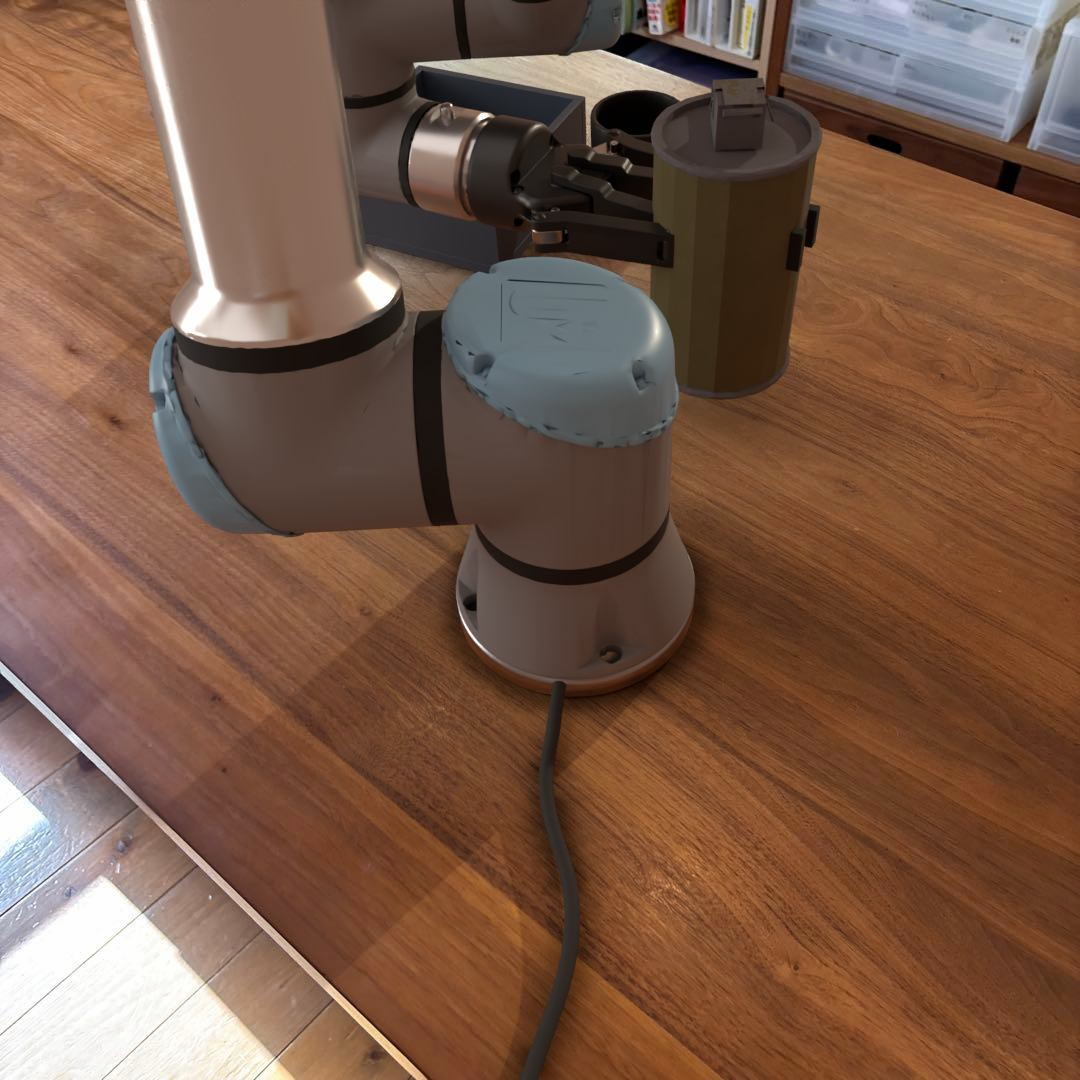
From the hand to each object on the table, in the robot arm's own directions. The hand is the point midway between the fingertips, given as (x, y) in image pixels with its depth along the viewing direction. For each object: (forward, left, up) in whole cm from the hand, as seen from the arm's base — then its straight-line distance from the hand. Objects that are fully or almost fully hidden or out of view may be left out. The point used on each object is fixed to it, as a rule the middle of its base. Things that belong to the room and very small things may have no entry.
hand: (808, 238), depth 71 cm
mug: (+20, +20, -16) cm, 32 cm away
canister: (0, +6, -11) cm, 12 cm away
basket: (+16, +37, -15) cm, 43 cm away
